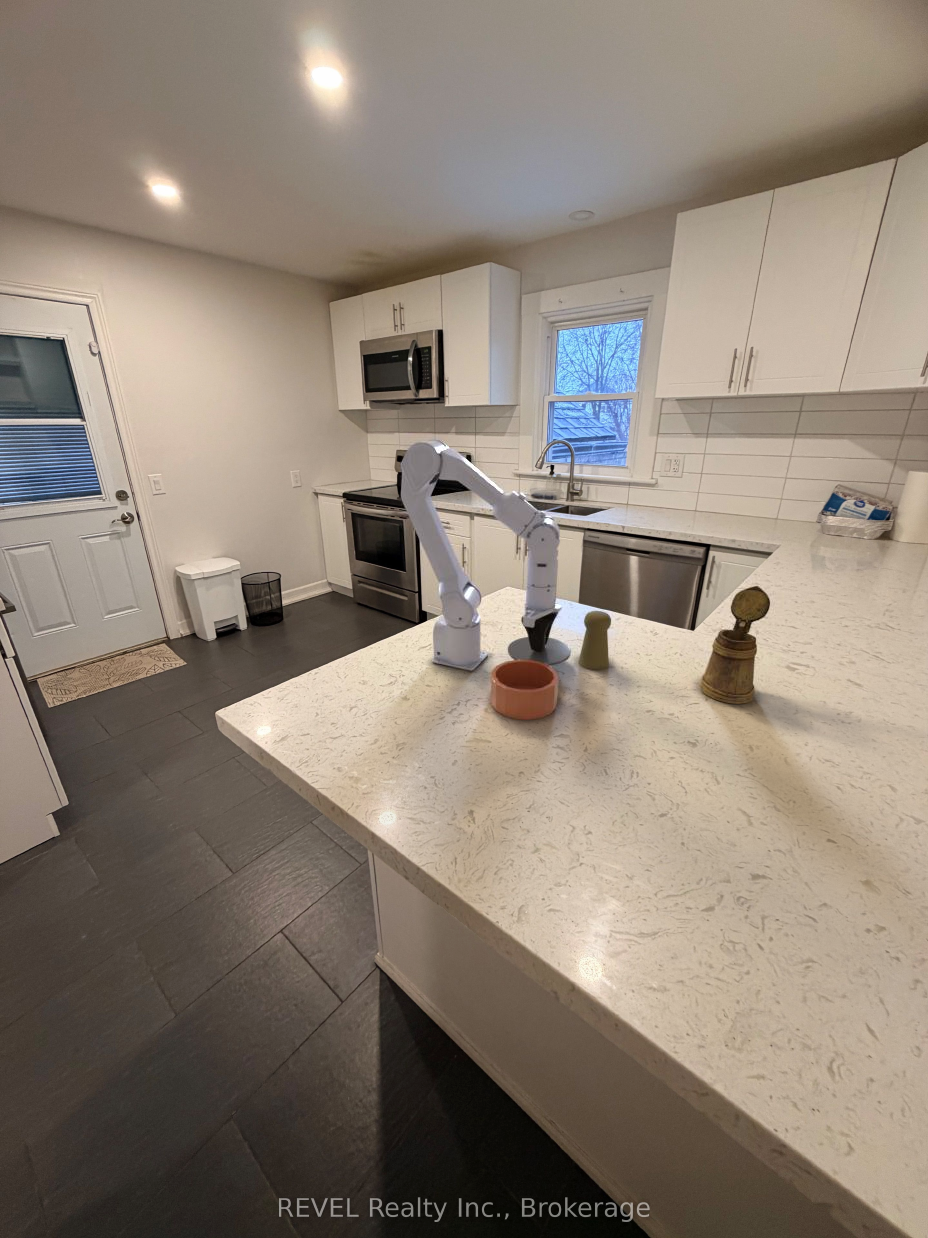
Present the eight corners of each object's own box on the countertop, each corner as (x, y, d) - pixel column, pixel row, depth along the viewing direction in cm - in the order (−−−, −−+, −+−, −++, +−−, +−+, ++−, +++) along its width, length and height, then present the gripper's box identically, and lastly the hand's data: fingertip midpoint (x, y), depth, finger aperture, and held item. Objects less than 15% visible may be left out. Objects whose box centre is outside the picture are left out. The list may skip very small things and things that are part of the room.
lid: (498, 661, 97) (498, 641, 96) (520, 637, 108) (520, 618, 106) (560, 674, 92) (561, 653, 90) (577, 647, 103) (578, 627, 101)
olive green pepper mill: (609, 670, 98) (615, 619, 94) (578, 668, 100) (582, 617, 95) (607, 657, 104) (613, 608, 100) (578, 654, 105) (582, 606, 101)
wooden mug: (764, 679, 94) (786, 590, 87) (746, 710, 85) (769, 612, 78) (714, 665, 100) (731, 580, 93) (692, 693, 90) (709, 600, 83)
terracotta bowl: (480, 710, 86) (480, 683, 84) (505, 679, 96) (506, 655, 94) (544, 726, 81) (546, 698, 79) (564, 693, 91) (565, 667, 89)
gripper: (550, 597, 87) (547, 666, 92) (572, 574, 98) (568, 636, 104) (512, 592, 89) (511, 659, 95) (538, 570, 101) (535, 631, 107)
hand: (538, 647), depth 99 cm, fingers closed on lid, 2 cm apart
